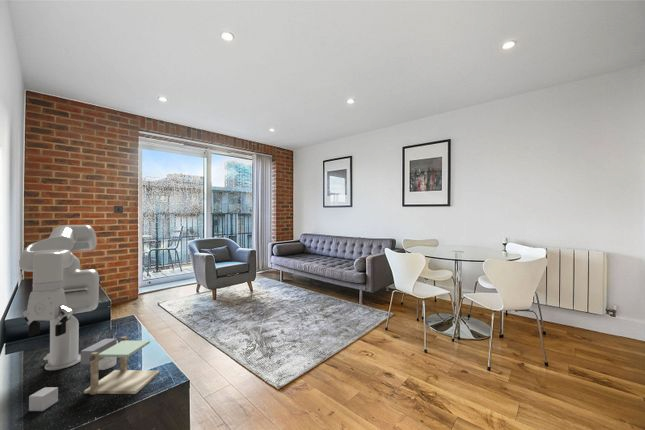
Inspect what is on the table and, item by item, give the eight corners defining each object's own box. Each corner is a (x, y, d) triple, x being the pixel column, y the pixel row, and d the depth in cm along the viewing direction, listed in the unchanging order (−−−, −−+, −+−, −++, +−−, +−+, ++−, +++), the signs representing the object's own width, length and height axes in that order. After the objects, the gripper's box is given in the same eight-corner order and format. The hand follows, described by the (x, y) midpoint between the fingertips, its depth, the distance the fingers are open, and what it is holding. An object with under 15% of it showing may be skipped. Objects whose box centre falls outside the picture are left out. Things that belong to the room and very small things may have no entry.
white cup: (121, 363, 122) (122, 341, 123) (102, 372, 115) (103, 348, 115) (110, 360, 125) (110, 338, 125) (90, 369, 118) (91, 346, 118)
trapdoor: (79, 364, 102) (79, 351, 102) (106, 349, 114) (106, 338, 114) (128, 365, 101) (128, 351, 101) (149, 350, 113) (150, 338, 113)
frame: (80, 395, 99) (81, 354, 100) (117, 370, 116) (117, 335, 116) (132, 396, 98) (132, 355, 99) (162, 371, 115) (162, 335, 116)
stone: (28, 411, 92) (29, 396, 92) (44, 401, 97) (44, 387, 97) (42, 411, 91) (43, 396, 92) (57, 401, 96) (58, 387, 96)
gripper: (12, 289, 92) (11, 339, 92) (60, 288, 92) (60, 339, 91) (36, 284, 100) (35, 330, 99) (81, 283, 99) (80, 330, 99)
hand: (47, 334), depth 95 cm, fingers open, 9 cm apart
